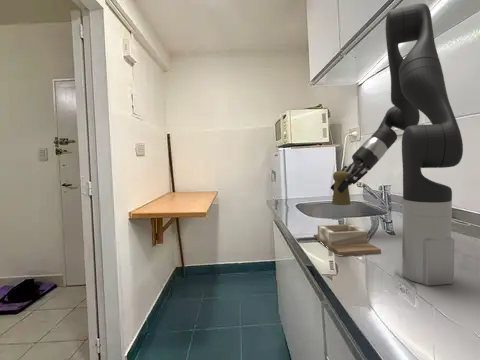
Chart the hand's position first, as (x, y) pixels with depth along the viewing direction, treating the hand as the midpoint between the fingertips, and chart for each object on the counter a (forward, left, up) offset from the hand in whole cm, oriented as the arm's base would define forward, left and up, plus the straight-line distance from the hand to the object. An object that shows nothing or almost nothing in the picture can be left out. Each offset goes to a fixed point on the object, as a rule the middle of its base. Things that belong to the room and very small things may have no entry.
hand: (335, 190), depth 111 cm
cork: (0, -2, -5) cm, 5 cm away
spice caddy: (-12, +2, -15) cm, 20 cm away
